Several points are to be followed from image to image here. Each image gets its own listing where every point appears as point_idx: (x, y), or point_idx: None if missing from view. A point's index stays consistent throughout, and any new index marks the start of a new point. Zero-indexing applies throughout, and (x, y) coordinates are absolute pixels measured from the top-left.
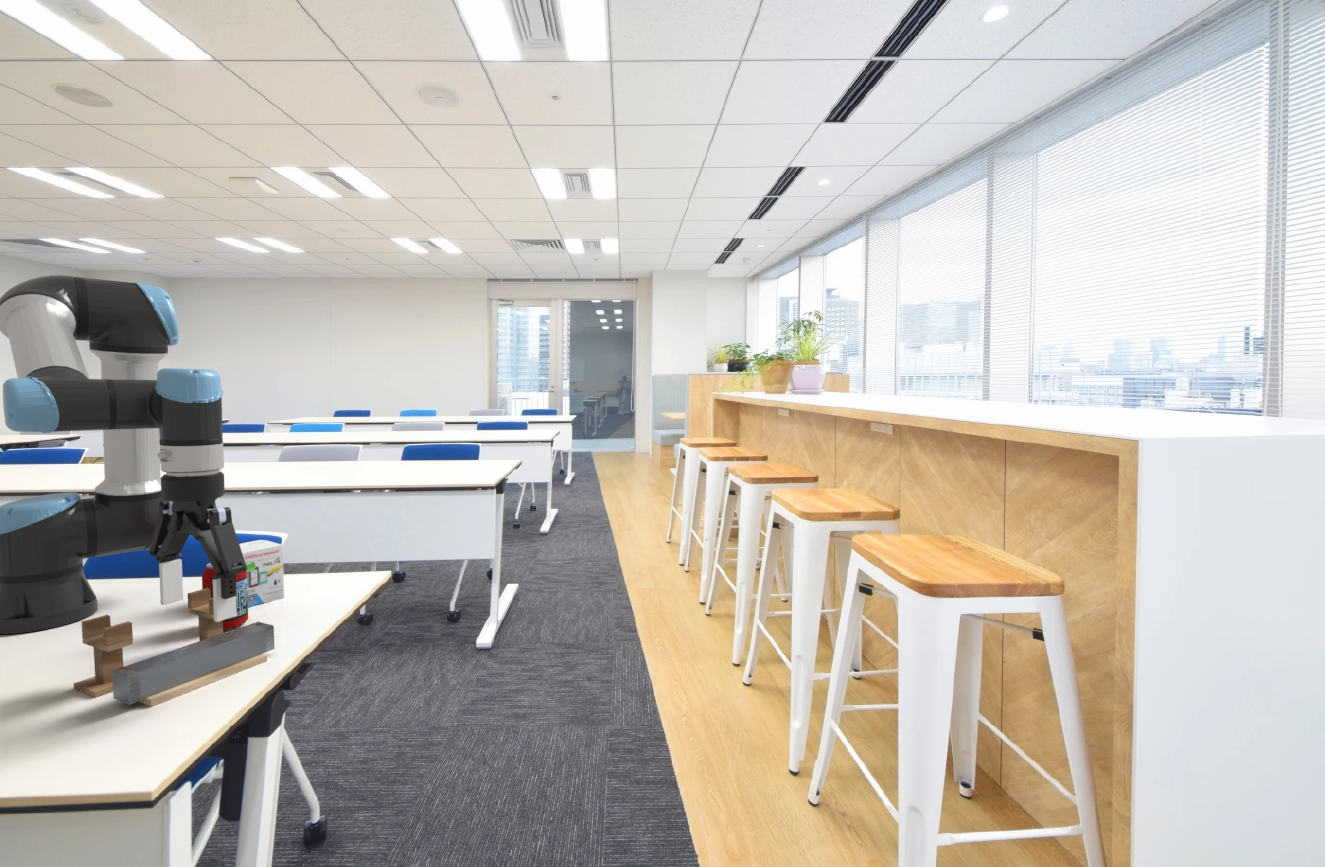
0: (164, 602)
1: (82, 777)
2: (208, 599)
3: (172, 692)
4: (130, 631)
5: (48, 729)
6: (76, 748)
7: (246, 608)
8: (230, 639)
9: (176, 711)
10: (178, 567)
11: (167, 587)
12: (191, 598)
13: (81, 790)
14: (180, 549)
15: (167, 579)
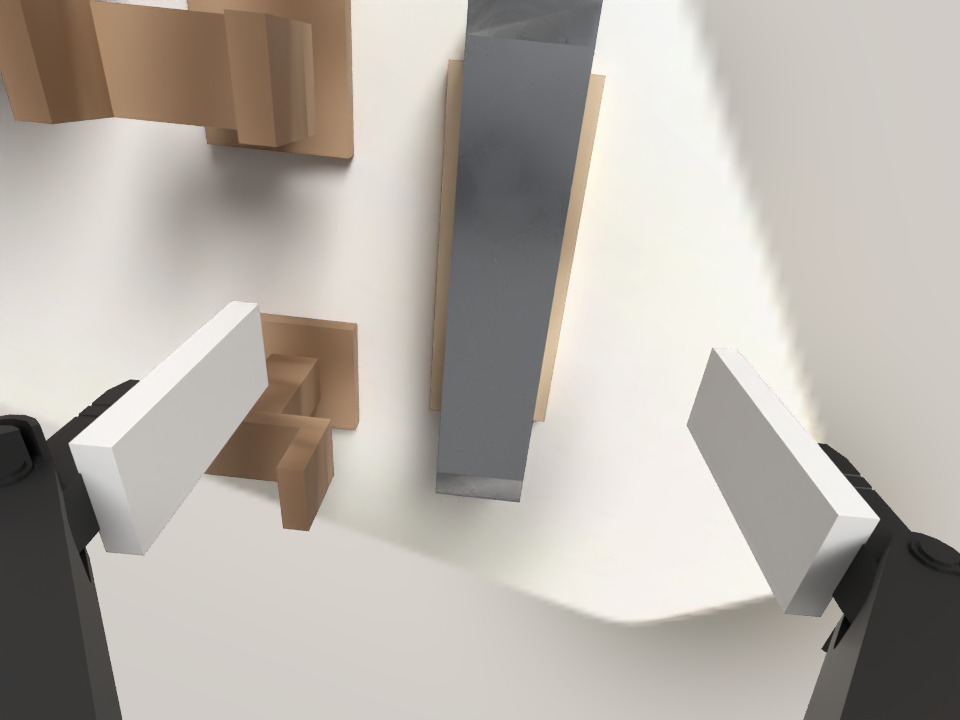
0: (263, 388)
1: (685, 582)
2: (74, 14)
3: (550, 376)
4: (316, 454)
5: (436, 519)
6: (572, 541)
7: None
8: (552, 214)
9: (628, 406)
10: (152, 430)
11: (225, 417)
12: (72, 120)
13: (722, 599)
14: (67, 542)
15: (202, 447)
